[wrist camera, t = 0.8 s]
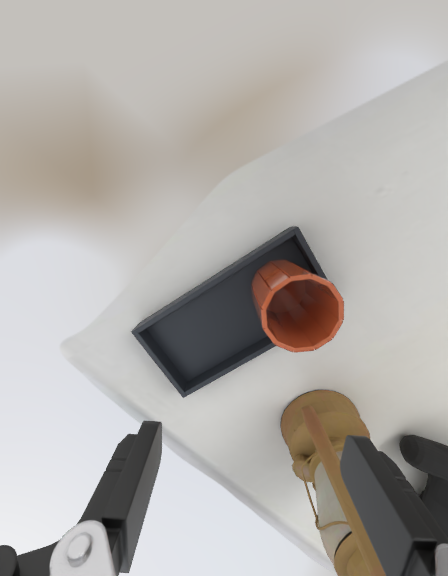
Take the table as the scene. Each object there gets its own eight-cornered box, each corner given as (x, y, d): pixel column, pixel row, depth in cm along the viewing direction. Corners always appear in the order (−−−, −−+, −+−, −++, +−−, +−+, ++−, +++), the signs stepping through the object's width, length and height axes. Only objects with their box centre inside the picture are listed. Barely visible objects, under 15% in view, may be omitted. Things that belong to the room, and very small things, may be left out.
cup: (248, 263, 27) (258, 280, 18) (306, 256, 27) (343, 270, 18) (253, 316, 29) (264, 355, 20) (308, 310, 28) (343, 347, 20)
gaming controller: (378, 501, 39) (461, 544, 34) (378, 539, 34) (475, 595, 29) (400, 415, 35) (498, 449, 30) (403, 443, 30) (520, 489, 25)
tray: (291, 226, 27) (298, 226, 24) (333, 301, 29) (343, 308, 26) (139, 323, 30) (130, 332, 27) (186, 384, 32) (183, 398, 29)
